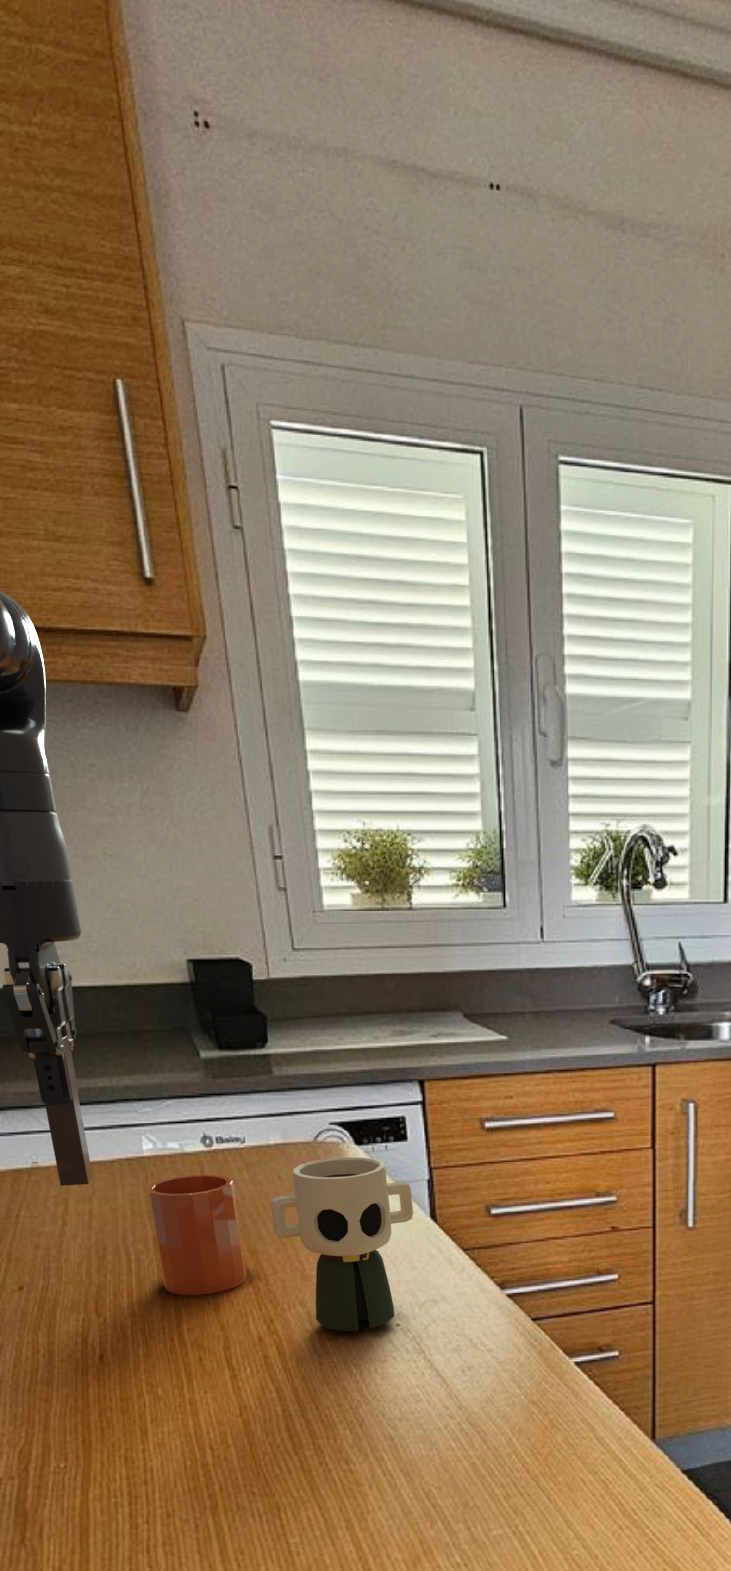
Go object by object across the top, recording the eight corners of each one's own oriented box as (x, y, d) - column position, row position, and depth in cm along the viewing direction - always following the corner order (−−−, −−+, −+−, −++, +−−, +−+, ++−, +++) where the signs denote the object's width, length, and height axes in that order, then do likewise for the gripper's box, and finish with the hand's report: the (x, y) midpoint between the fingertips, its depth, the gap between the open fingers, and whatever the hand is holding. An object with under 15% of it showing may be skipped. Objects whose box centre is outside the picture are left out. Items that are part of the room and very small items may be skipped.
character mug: (296, 1349, 92) (274, 1185, 87) (280, 1320, 98) (259, 1165, 93) (433, 1326, 97) (420, 1168, 92) (410, 1299, 103) (397, 1150, 98)
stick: (60, 1185, 101) (32, 1040, 96) (65, 1179, 103) (38, 1036, 98) (88, 1184, 101) (62, 1039, 97) (93, 1177, 103) (67, 1035, 99)
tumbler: (148, 1292, 105) (130, 1193, 102) (192, 1267, 111) (177, 1172, 108) (219, 1297, 104) (203, 1196, 100) (261, 1271, 110) (247, 1176, 107)
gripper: (-12, 875, 98) (30, 1088, 105) (-61, 878, 86) (-10, 1119, 92) (86, 874, 100) (122, 1084, 106) (52, 877, 87) (94, 1114, 94)
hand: (60, 1099), depth 99 cm, fingers closed on stick, 2 cm apart
